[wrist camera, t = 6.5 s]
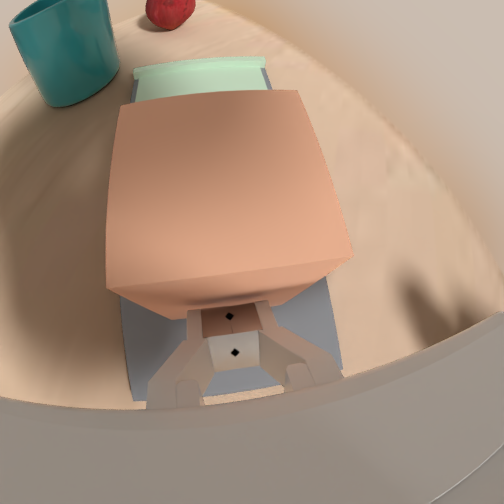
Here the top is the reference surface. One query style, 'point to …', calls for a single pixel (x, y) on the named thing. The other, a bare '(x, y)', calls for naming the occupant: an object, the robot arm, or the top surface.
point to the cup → (67, 48)
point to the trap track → (175, 331)
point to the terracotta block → (219, 202)
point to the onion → (169, 12)
